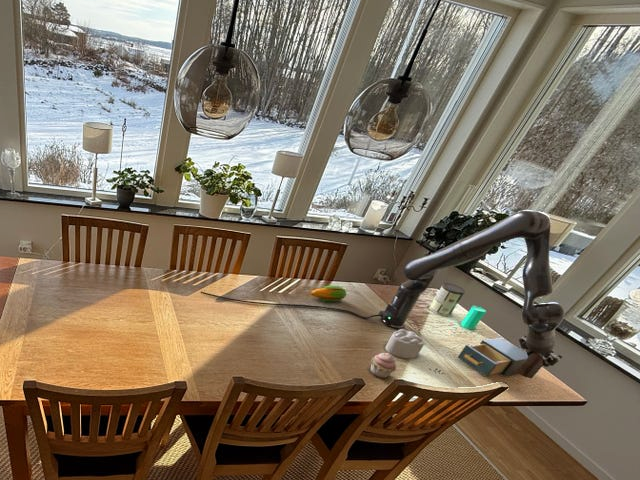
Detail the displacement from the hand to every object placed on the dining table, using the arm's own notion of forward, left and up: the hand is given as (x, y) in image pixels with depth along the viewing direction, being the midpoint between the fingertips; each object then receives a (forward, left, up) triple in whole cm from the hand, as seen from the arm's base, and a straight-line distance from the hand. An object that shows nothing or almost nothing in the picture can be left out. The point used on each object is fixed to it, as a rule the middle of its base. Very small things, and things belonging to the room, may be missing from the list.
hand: (538, 360), depth 155 cm
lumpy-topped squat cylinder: (-40, +22, -14) cm, 47 cm away
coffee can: (+9, +58, -14) cm, 60 cm away
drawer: (-10, +11, -13) cm, 20 cm away
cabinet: (+3, +14, -14) cm, 20 cm away
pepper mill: (-2, 0, -7) cm, 7 cm away
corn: (-54, +64, -14) cm, 84 cm away
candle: (+14, +44, -14) cm, 48 cm away
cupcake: (-60, +7, -14) cm, 62 cm away
